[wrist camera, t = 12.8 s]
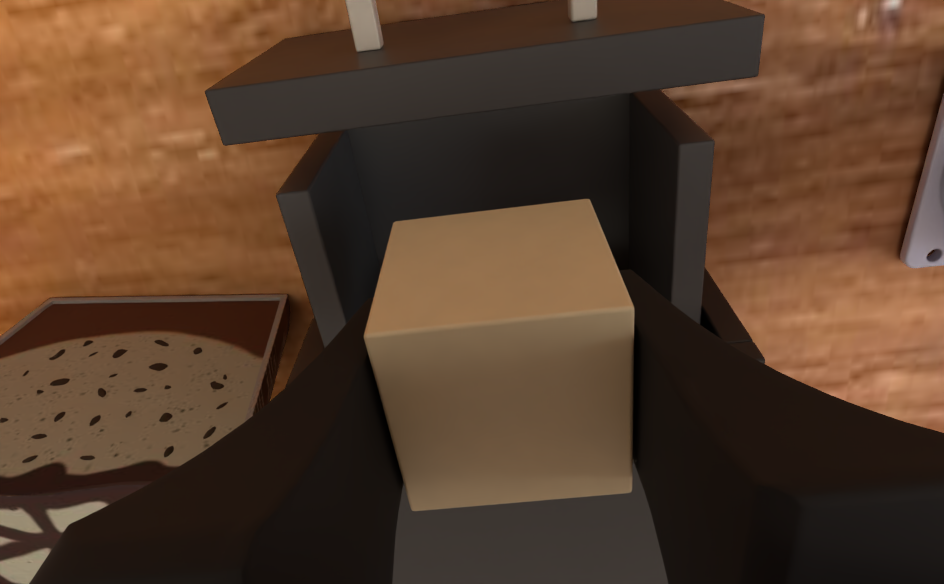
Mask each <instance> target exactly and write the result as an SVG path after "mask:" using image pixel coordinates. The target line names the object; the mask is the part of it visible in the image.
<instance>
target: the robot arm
mask: <svg viewBox="0 0 944 584" xmlns="http://www.w3.org/2000/svg"><path fill="white" fill-rule="evenodd" d="M932 250H935V251H934V252H933V253H932V254H931V255H929V256H927V255H928V253H929V252H931V251H932ZM900 259H901V261H902V262H903V263H904V264H905V265H906V266H908V267H910V268H922V267H932V266H941V265H944V93H943V97H942V101H941V105H940V108H939V112H938V116H937V119H936V123H935V127H934V130H933V134H932V138H931V142H930V145H929V149H928V153H927V156H926V160H925V164H924V167H923V171H922V175H921V179H920V182H919V186H918V190H917V193H916V197H915V201H914V204H913V208H912V212H911V216H910V219H909V223H908V227H907V230H906V234H905V238H904V241H903V245H902V249H901V253H900ZM619 272H620V274H621V277H622V279H623V282H624V284H625V286H626V289H627V291H628V294H629V296H630V299H631V301H632V303H633V306H634V389H633V462H634V464H635V467H636V470H637V473H638V475H639V478H640V481H641V484H642V486H643V489H644V492H645V495H646V498H647V501H648V505H649V508H650V511H651V515H652V519H653V523H654V527H655V531H656V535H657V539H658V543H659V547H660V551H661V555H662V559H663V563H664V567H665V571H666V575H667V580H668V584H944V433H941V432H938V431H934V430H931V429H927V428H924V427H920V426H917V425H913V424H910V423H906V422H903V421H900V420H897V419H894V418H891V417H888V416H885V415H883V414H880V413H877V412H874V411H871V410H868V409H865V408H863V407H860V406H857V405H854V404H852V403H849V402H847V401H844V400H841V399H839V398H836V397H834V396H831V395H829V394H826V393H824V392H822V391H820V390H817V389H815V388H813V387H811V386H808V385H806V384H804V383H801V382H799V381H797V380H795V379H792V378H790V377H788V376H786V375H784V374H782V373H780V372H778V371H776V370H774V369H772V368H770V367H769V366H767V365H765V364H763V363H761V362H759V361H757V360H756V359H754V358H752V357H750V356H748V355H746V354H745V353H743V352H741V351H740V350H738V349H736V348H735V347H733V346H731V345H730V344H728V343H727V342H725V341H723V340H722V339H720V338H719V337H717V336H716V335H714V334H713V333H711V332H710V331H708V330H707V329H705V328H704V327H702V326H701V325H700V324H698V323H697V322H695V321H694V320H693V319H691V318H690V317H689V316H687V315H686V314H685V313H683V312H682V311H681V310H679V309H678V308H677V307H676V306H674V305H673V304H672V303H671V302H669V301H668V300H667V299H666V298H664V297H663V296H662V295H661V294H660V293H658V292H657V291H656V290H655V289H654V288H652V287H651V286H650V285H649V284H648V283H647V282H645V281H644V280H643V279H642V278H641V277H639V276H638V275H637V274H636V273H635V272H633V271H632V270H631V269H629V270H620V271H619ZM372 302H373V298H369V299H368V300H367V301H366V302H365V303H364V304H363V305H362V306H361V307H360V309H359V310H358V311H357V312H356V313H355V314H354V316H353V317H352V318H351V319H350V320H349V321H348V323H347V324H346V325H345V326H344V327H343V328H342V330H341V331H340V332H339V333H338V334H337V335H336V336H335V337H334V339H333V340H332V341H331V342H330V343H329V344H328V345H327V346H326V348H325V349H324V350H323V351H322V352H321V353H320V354H319V355H318V356H317V357H316V358H315V359H314V360H313V361H312V362H311V363H310V364H309V365H308V366H307V367H306V368H305V369H304V370H303V371H302V372H301V373H300V374H299V375H298V376H297V377H296V378H295V379H294V380H293V381H292V382H291V383H290V384H289V385H288V386H287V387H286V388H285V389H284V390H283V391H282V392H280V393H279V394H278V395H277V396H276V397H275V398H274V399H272V400H271V401H270V402H269V403H268V404H266V405H265V406H264V407H263V408H262V409H260V410H259V411H258V412H257V413H255V414H254V415H253V416H252V417H251V418H249V419H248V420H247V421H245V422H244V423H243V424H241V425H240V426H238V427H237V428H236V429H234V430H233V431H231V432H230V433H229V434H227V435H226V436H224V437H223V438H221V439H220V440H219V441H217V442H216V443H214V444H213V445H212V446H210V447H209V448H207V449H206V450H204V451H203V452H201V453H200V454H198V455H197V456H195V457H194V458H192V459H190V460H189V461H187V462H186V463H184V464H182V465H181V466H179V467H177V468H176V469H174V470H172V471H171V472H169V473H167V474H166V475H164V476H162V477H160V478H159V479H157V480H155V481H153V482H152V483H150V484H148V485H146V486H144V487H143V488H141V489H139V490H137V491H135V492H133V493H131V494H129V495H127V496H125V497H123V498H122V499H120V500H118V501H116V502H114V503H112V504H110V505H108V506H106V507H104V508H102V509H100V510H98V511H96V512H94V513H92V514H90V515H88V516H86V517H84V518H82V519H79V520H77V521H75V522H73V523H71V524H69V525H68V526H67V528H66V529H65V531H64V532H63V534H62V535H61V537H60V538H59V540H58V541H57V543H56V544H55V546H54V547H53V549H52V550H51V552H50V553H49V555H48V556H47V558H46V559H45V561H44V562H43V564H42V565H41V567H40V568H39V570H38V571H37V573H36V574H35V576H34V577H33V579H32V580H31V582H30V583H29V584H392V581H393V566H394V551H395V537H396V528H397V520H398V512H399V506H400V501H401V495H402V489H403V484H404V482H403V478H402V475H401V471H400V467H399V464H398V460H397V457H396V453H395V449H394V446H393V442H392V438H391V435H390V431H389V427H388V424H387V420H386V417H385V413H384V409H383V406H382V402H381V398H380V395H379V391H378V387H377V384H376V380H375V377H374V373H373V369H372V366H371V362H370V358H369V355H368V351H367V347H366V344H365V340H364V333H365V329H366V325H367V321H368V318H369V314H370V310H371V306H372Z"/></svg>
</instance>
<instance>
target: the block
mask: <svg viewBox="0 0 944 584" xmlns="http://www.w3.org/2000/svg"><path fill="white" fill-rule="evenodd" d="M364 340H365V344H366V347H367V351H368V355H369V358H370V362H371V366H372V369H373V373H374V377H375V380H376V384H377V387H378V391H379V395H380V398H381V402H382V406H383V409H384V413H385V417H386V420H387V424H388V427H389V431H390V435H391V438H392V442H393V446H394V449H395V453H396V457H397V460H398V464H399V467H400V471H401V475H402V478H403V482H404V486H405V489H406V493H407V497H408V500H409V504H410V507H411V510H412V511H423V510H435V509H447V508H458V507H470V506H482V505H494V504H505V503H517V502H529V501H541V500H552V499H564V498H576V497H588V496H600V495H611V494H623V493H630V492H631V491H632V473H633V389H634V306H633V303H632V301H631V299H630V296H629V294H628V291H627V289H626V286H625V284H624V282H623V279H622V277H621V274H620V272H619V269H618V267H617V264H616V262H615V260H614V257H613V255H612V252H611V250H610V247H609V245H608V242H607V240H606V238H605V235H604V233H603V230H602V228H601V225H600V223H599V221H598V218H597V216H596V213H595V211H594V208H593V206H592V203H591V201H590V199H580V200H572V201H564V202H555V203H547V204H538V205H530V206H521V207H513V208H505V209H496V210H488V211H479V212H471V213H462V214H454V215H446V216H437V217H429V218H420V219H412V220H403V221H396V222H394V223H393V226H392V229H391V233H390V237H389V241H388V245H387V249H386V252H385V256H384V260H383V264H382V268H381V272H380V275H379V279H378V283H377V287H376V291H375V295H374V298H373V302H372V306H371V310H370V314H369V318H368V321H367V325H366V329H365V333H364Z"/></svg>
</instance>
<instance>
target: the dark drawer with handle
mask: <svg viewBox="0 0 944 584" xmlns="http://www.w3.org/2000/svg"><path fill="white" fill-rule="evenodd" d="M345 2H346V7H347V12H348V16H349V21H350V25H351V29H350V30H343V31H335V32H328V33H321V34H314V35H307V36H300V37H293V38H286V39H284V40H282V41H281V42H279V43H278V44H276V45H274V46H273V47H271V48H270V49H268V50H267V51H265V52H264V53H262V54H261V55H259V56H258V57H256V58H255V59H253V60H251V61H250V62H248V63H247V64H245V65H244V66H242V67H241V68H239V69H238V70H236V71H235V72H233V73H232V74H230V75H228V76H227V77H225V78H224V79H222V80H221V81H219V82H218V83H216V84H215V85H213V86H212V87H210V88H209V89H207V90H206V91H205V94H206V97H207V100H208V103H209V106H210V108H211V111H212V114H213V117H214V120H215V123H216V125H217V128H218V131H219V134H220V137H221V140H222V143H223V145H225V146H227V145H235V144H243V143H250V142H258V141H266V140H273V139H281V138H289V137H297V136H304V135H312V134H319V135H318V136H317V137H316V139H315V140H314V142H313V143H312V144H311V146H310V147H309V149H308V150H307V152H306V153H305V154H304V156H303V157H302V159H301V160H300V161H299V163H298V164H297V166H296V167H295V168H294V170H293V171H292V173H291V174H290V176H289V177H288V178H287V180H286V181H285V183H284V184H283V185H282V187H281V188H280V190H279V191H278V192H277V194H276V197H277V201H278V204H279V207H280V210H281V213H282V216H283V219H284V222H285V226H286V229H287V232H288V235H289V238H290V241H291V244H292V247H293V251H294V254H295V257H296V260H297V263H298V266H299V269H300V272H301V276H302V279H303V282H304V285H305V288H306V291H307V294H308V297H309V301H310V304H311V307H312V310H313V313H314V316H315V319H316V322H317V326H318V329H319V332H320V335H321V338H322V341H323V344H324V347H325V348H326V346H327V345H328V344H329V343H330V342H331V341H332V340H333V339H334V337H335V336H336V335H337V334H338V333H339V332H340V331H341V330H342V328H343V327H344V326H345V325H346V324H347V323H348V321H349V320H350V319H351V318H352V317H353V316H354V314H355V313H356V312H357V311H358V310H359V309H360V307H361V306H362V305H363V304H364V303H365V302H366V301H367V300H368V299H369V298H374V295H375V291H376V287H377V283H378V279H379V275H380V272H381V268H382V264H383V260H384V256H385V252H386V249H387V245H388V241H389V237H390V233H391V229H392V226H393V223H394V222H396V221H403V220H412V219H420V218H429V217H437V216H446V215H454V214H462V213H471V212H479V211H488V210H496V209H505V208H513V207H521V206H530V205H538V204H547V203H555V202H564V201H572V200H580V199H590V201H591V203H592V206H593V208H594V211H595V213H596V216H597V218H598V221H599V223H600V225H601V228H602V230H603V233H604V235H605V238H606V240H607V242H608V245H609V247H610V250H611V252H612V255H613V257H614V260H615V262H616V264H617V267H618V269H619V271H620V270H629V269H631V270H632V271H633V272H635V273H636V274H637V275H638V276H639V277H641V278H642V279H643V280H644V281H645V282H647V283H648V284H649V285H650V286H651V287H652V288H654V289H655V290H656V291H657V292H658V293H660V294H661V295H662V296H663V297H664V298H666V299H667V300H668V301H669V302H671V303H672V304H673V305H674V306H676V307H677V308H678V309H679V310H681V311H682V312H683V313H685V314H686V315H687V316H689V317H690V318H691V319H693V320H694V321H695V322H697V323H698V324H700V317H701V305H702V292H703V280H704V268H705V255H706V243H707V230H708V218H709V206H710V193H711V181H712V168H713V156H714V144H715V142H714V140H713V139H712V138H711V137H710V136H709V135H708V134H707V133H706V132H705V131H704V130H703V129H701V128H700V127H699V126H698V125H697V124H696V123H695V122H694V121H693V120H692V119H691V118H690V117H689V116H688V115H686V114H685V113H684V112H683V111H682V110H681V109H680V108H679V107H678V106H677V105H676V104H675V103H674V102H673V101H672V100H670V99H669V98H668V97H667V96H666V95H665V94H664V93H663V92H662V91H661V90H660V89H667V88H674V87H682V86H690V85H697V84H705V83H713V82H720V81H728V80H736V79H744V78H751V77H756V76H758V72H759V63H760V54H761V45H762V36H763V27H764V18H765V15H764V14H761V13H759V12H756V11H753V10H750V9H747V8H744V7H741V6H738V5H735V4H732V3H729V2H726V1H723V0H555V1H547V2H540V3H533V4H526V5H519V6H512V7H505V8H498V9H491V10H484V11H477V12H470V13H463V14H456V15H449V16H441V17H434V18H427V19H420V20H413V21H406V22H399V23H392V24H385V25H380V21H379V16H378V10H377V5H376V0H345Z"/></svg>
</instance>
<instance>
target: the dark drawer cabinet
mask: <svg viewBox="0 0 944 584" xmlns="http://www.w3.org/2000/svg"><path fill="white" fill-rule="evenodd" d="M700 325H701V326H702V327H704V328H705V329H707V330H708V331H710V332H711V333H713V334H714V335H716V336H717V337H719V338H720V339H722V340H723V341H725V342H727V343H728V344H730V345H731V346H733V347H735V348H736V349H738V350H740V351H741V352H743V353H745V354H746V355H748V356H750V357H752V358H754V359H756V360H757V361H759V362H761V363H763V364H765V359H764V357H763V355H762V354H761V352H760V351H759V349H758V348H757V346H756V345H755V343H754V342H753V340H752V338H751V337H750V335H749V334H748V332H747V331H746V329H745V328H744V326H743V325H742V323H741V322H740V320H739V319H738V317H737V316H736V314H735V313H734V311H733V309H732V308H731V306H730V305H729V303H728V302H727V300H726V299H725V297H724V296H723V294H722V293H721V291H720V290H719V288H718V287H717V285H716V284H715V282H714V281H713V279H712V277H711V276H710V274H709V273H708V271H707V270H706V268H704V280H703V292H702V305H701V317H700ZM324 349H325V347H324V344H323V341H322V338H321V335H320V332H319V329H318V326H317V322H316V319H315V316H314V317H313V319H312V322H311V324H310V327H309V329H308V332H307V334H306V337H305V339H304V342H303V344H302V347H301V349H300V352H299V354H298V357H297V359H296V362H295V364H294V367H293V369H292V372H291V374H290V377H289V379H288V382H287V384H286V387H287V386H288V385H289V384H290V383H291V382H292V381H293V380H294V379H295V378H296V377H297V376H298V375H299V374H300V373H301V372H302V371H303V370H304V369H305V368H306V367H307V366H308V365H309V364H310V363H311V362H312V361H313V360H314V359H315V358H316V357H317V356H318V355H319V354H320V353H321V352H322V351H323V350H324ZM392 584H668V580H667V575H666V571H665V567H664V563H663V559H662V555H661V551H660V547H659V543H658V539H657V535H656V531H655V527H654V523H653V519H652V515H651V511H650V508H649V505H648V501H647V498H646V495H645V492H644V489H643V486H642V484H641V481H640V478H639V475H638V473H637V470H636V467H635V464H634V462H633V473H632V491H631V492H630V493H623V494H611V495H600V496H588V497H576V498H564V499H552V500H541V501H529V502H517V503H505V504H494V505H482V506H470V507H458V508H447V509H435V510H423V511H412V510H411V507H410V504H409V500H408V497H407V493H406V489H405V486H404V484H403V489H402V495H401V501H400V506H399V512H398V520H397V528H396V537H395V551H394V566H393V581H392Z"/></svg>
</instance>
